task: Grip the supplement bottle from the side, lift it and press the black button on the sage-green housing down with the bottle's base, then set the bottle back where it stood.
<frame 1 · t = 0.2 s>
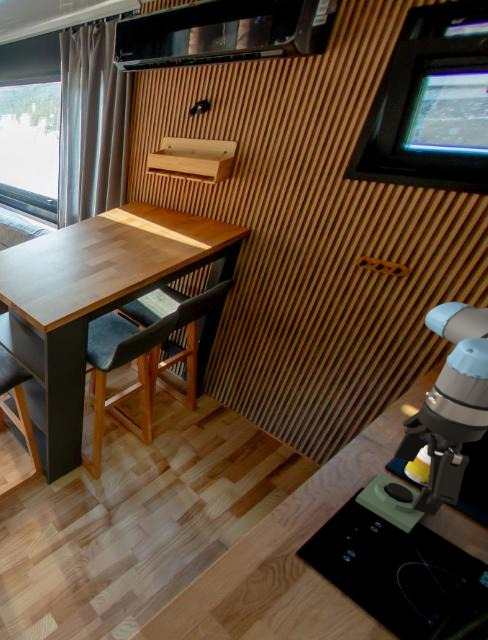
hand: (412, 483, 77), 18 cm above the worktop, tool pointing down, fingers open, 13 cm apart
button box: (392, 503, 89), on the worktop
button: (398, 492, 87), point 4 cm above the worktop, slide at 0.1 cm
supplement bottle: (420, 478, 93), on the worktop
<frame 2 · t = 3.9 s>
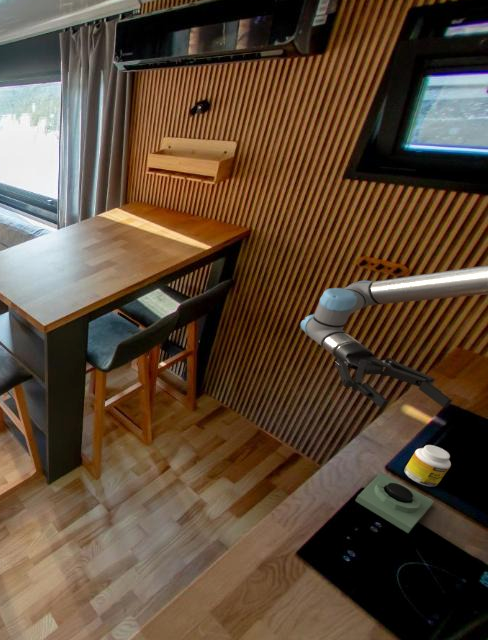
hand: (415, 404, 93), 18 cm above the worktop, tool horizontal, fingers open, 13 cm apart
nothing on the worktop moved.
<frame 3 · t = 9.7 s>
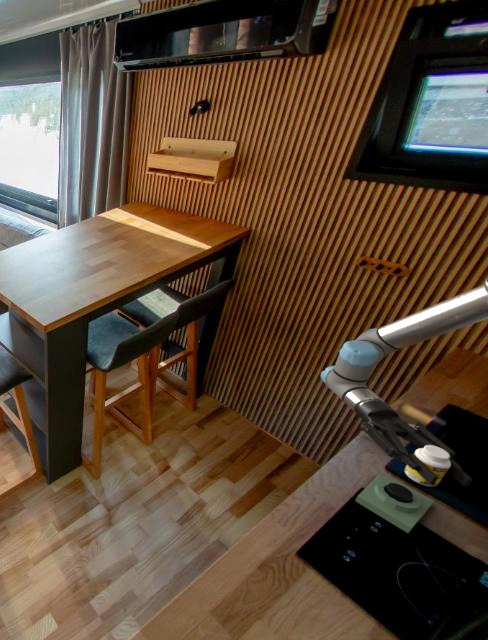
hand: (450, 481, 86), 6 cm above the worktop, tool horizontal, fingers closed on supplement bottle, 6 cm apart
supplement bottle: (420, 477, 93), on the worktop, touching gripper
everything else where it was.
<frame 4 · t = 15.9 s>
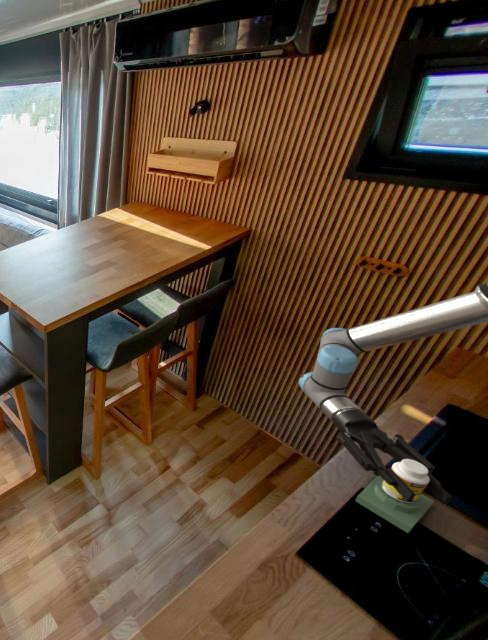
hand: (429, 499, 80), 10 cm above the worktop, tool horizontal, fingers closed on supplement bottle, 6 cm apart
button: (397, 495, 88), point 3 cm above the worktop, slide at -1.0 cm, touching supplement bottle
supplement bottle: (397, 493, 88), point 4 cm above the worktop, touching button, gripper
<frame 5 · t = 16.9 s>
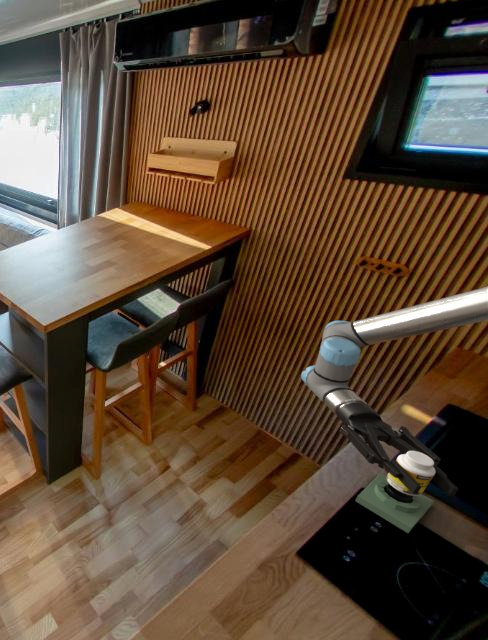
hand: (435, 491, 79), 13 cm above the worktop, tool horizontal, fingers closed on supplement bottle, 6 cm apart
button: (398, 492, 87), point 4 cm above the worktop, slide at 0.1 cm
supplement bottle: (403, 486, 86), point 7 cm above the worktop, touching gripper
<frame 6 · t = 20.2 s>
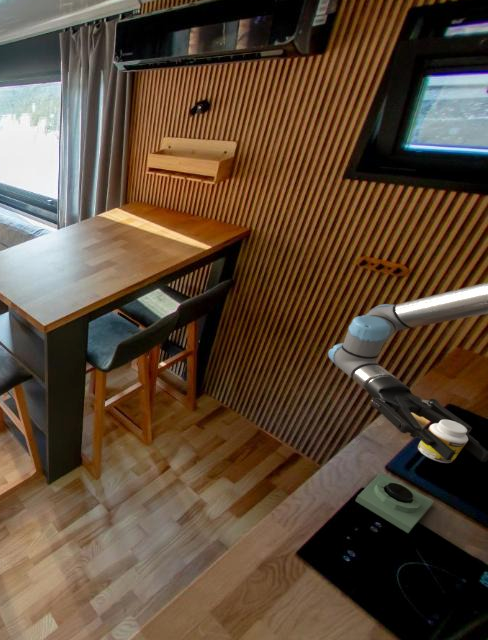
hand: (468, 456, 82), 15 cm above the worktop, tool horizontal, fingers closed on supplement bottle, 6 cm apart
supplement bottle: (434, 454, 89), point 9 cm above the worktop, touching gripper
everything else where it was.
when the fingers open (6 cm above the worktop, at t = 23.0 s): supplement bottle stays where it is, on the worktop.
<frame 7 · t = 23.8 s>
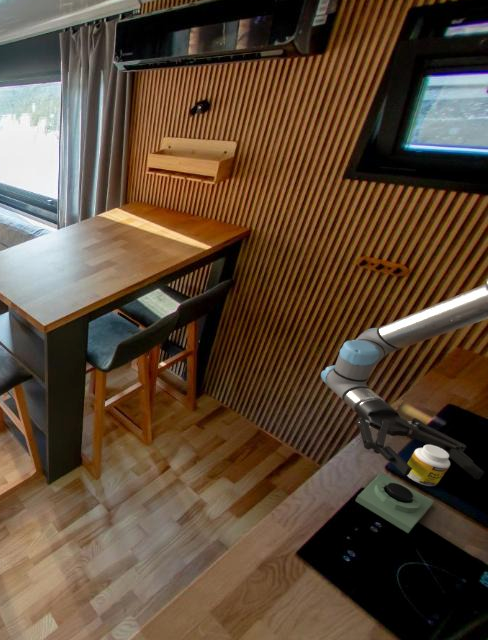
hand: (443, 473, 88), 6 cm above the worktop, tool horizontal, fingers open, 13 cm apart
supplement bottle: (419, 477, 94), on the worktop
everything else where it was.
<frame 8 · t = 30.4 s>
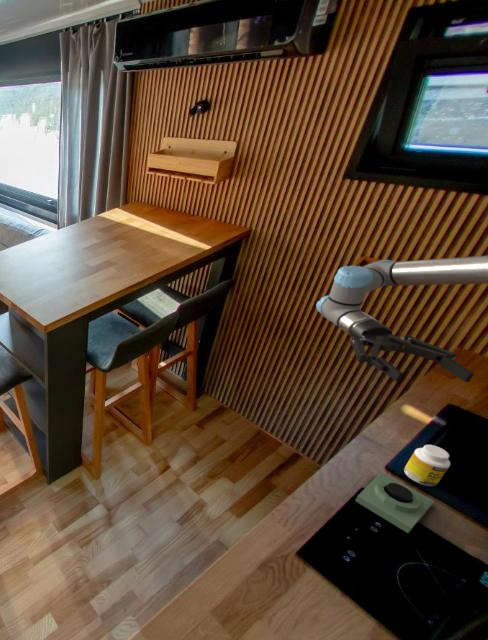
hand: (434, 377, 90), 26 cm above the worktop, tool horizontal, fingers open, 13 cm apart
nothing on the worktop moved.
at the end: button pushed in 1.0 cm at the most during the clip, back to where it started at the end; button slide at 0.1 cm; supplement bottle tilted 0° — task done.
